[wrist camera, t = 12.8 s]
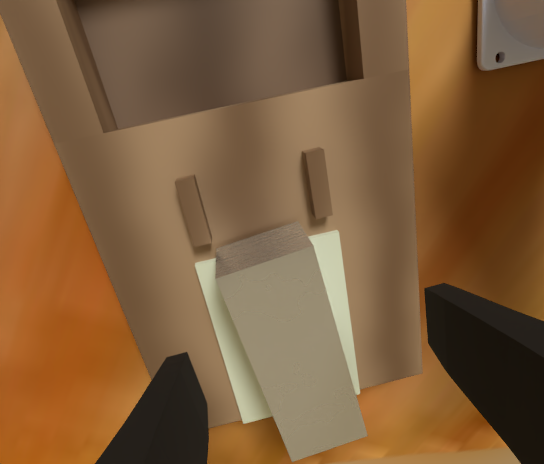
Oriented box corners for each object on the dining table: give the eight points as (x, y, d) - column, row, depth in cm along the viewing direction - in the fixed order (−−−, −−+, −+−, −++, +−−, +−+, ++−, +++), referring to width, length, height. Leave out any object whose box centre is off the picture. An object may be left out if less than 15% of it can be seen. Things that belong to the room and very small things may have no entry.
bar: (298, 220, 17) (313, 245, 14) (348, 390, 21) (367, 435, 18) (216, 248, 17) (215, 278, 14) (282, 413, 21) (292, 461, 18)
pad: (337, 229, 17) (338, 232, 17) (358, 389, 21) (360, 393, 21) (195, 262, 17) (194, 265, 17) (243, 419, 21) (243, 423, 21)
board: (367, -104, 15) (410, -164, 12) (399, 341, 24) (429, 383, 21) (13, -40, 15) (-53, -84, 11) (180, 396, 23) (173, 449, 20)
